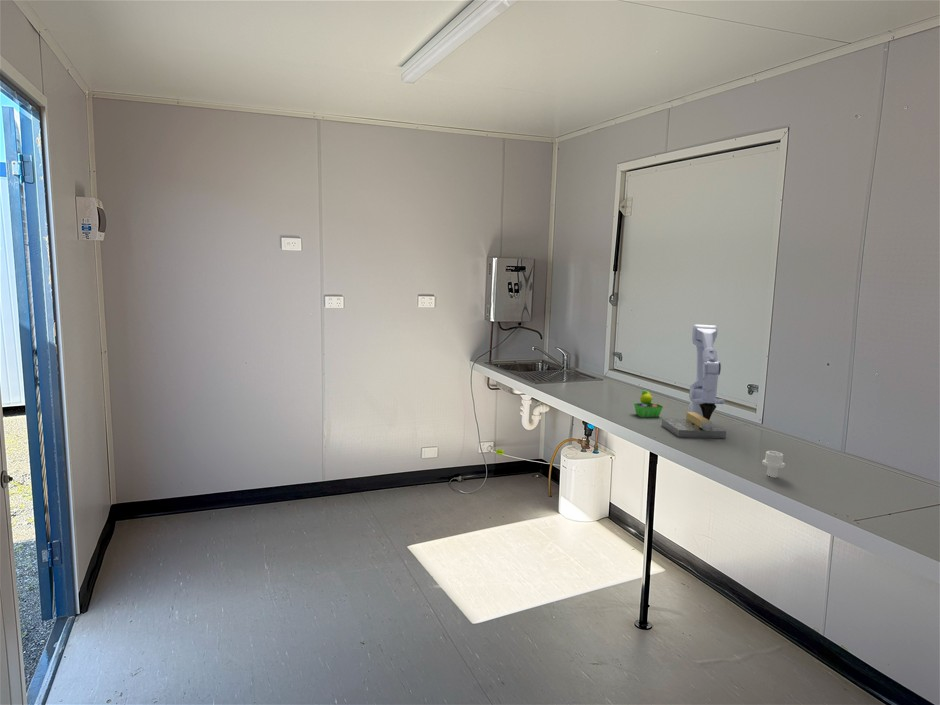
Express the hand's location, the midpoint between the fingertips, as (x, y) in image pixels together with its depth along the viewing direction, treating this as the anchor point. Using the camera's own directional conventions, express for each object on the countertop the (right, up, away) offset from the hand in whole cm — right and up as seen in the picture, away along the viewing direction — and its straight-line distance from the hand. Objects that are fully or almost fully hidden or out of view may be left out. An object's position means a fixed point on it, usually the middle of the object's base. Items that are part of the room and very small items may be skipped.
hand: (706, 420), depth 268 cm
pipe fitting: (+2, -13, -55) cm, 56 cm away
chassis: (-6, -4, -2) cm, 8 cm away
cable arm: (-4, -1, -3) cm, 5 cm away
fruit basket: (-19, 0, +24) cm, 30 cm away
